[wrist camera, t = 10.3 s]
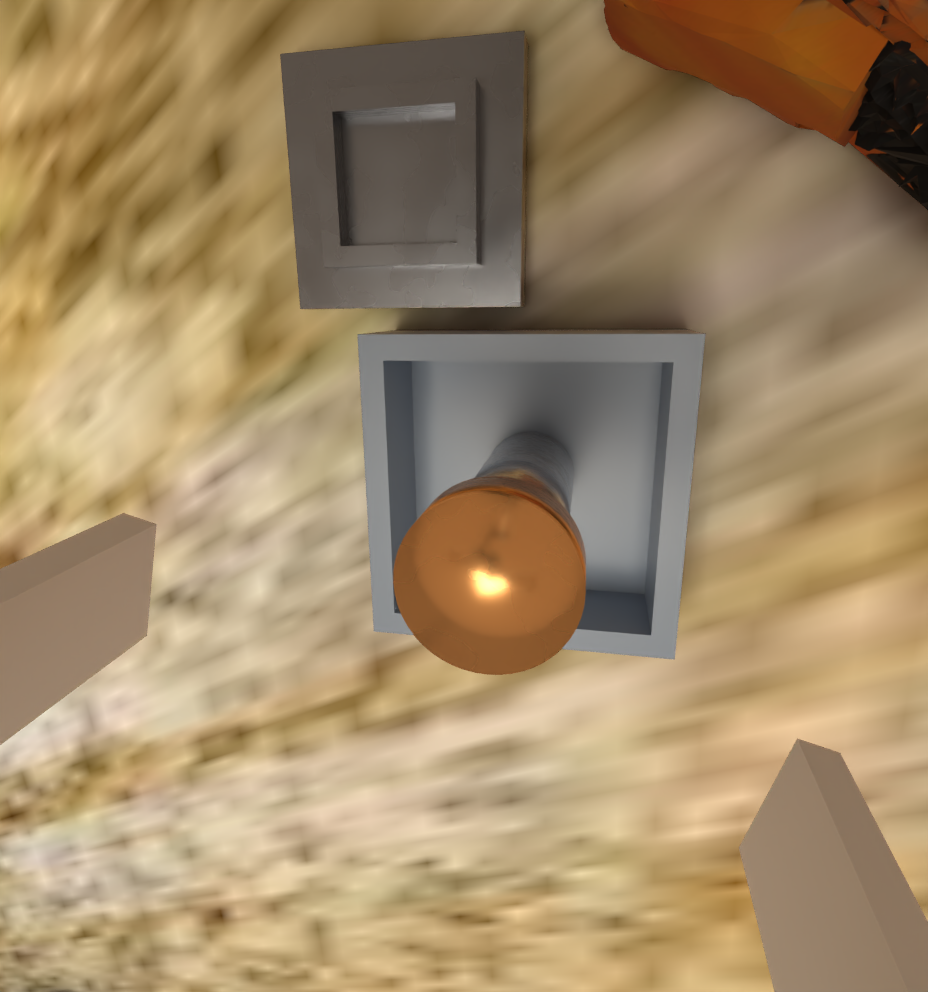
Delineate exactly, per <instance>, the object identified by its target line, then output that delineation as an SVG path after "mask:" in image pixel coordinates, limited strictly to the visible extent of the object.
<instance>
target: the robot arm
mask: <svg viewBox="0 0 928 992" xmlns="http://www.w3.org/2000/svg"><path fill="white" fill-rule="evenodd" d="M155 534H156V524H154V523H151V522H148V521H145V520H143V519H140V518H137V517H134V516H131V515H128V514H125V513H123V514H120V515H118V516H116V517H114V518H112V519H109V520H107V521H105V522H103V523H101V524H98V525H96V526H94V527H92V528H90V529H87V530H85V531H83V532H81V533H79V534H76V535H74V536H72V537H70V538H68V539H65V540H63V541H61V542H59V543H57V544H54V545H52V546H50V547H48V548H46V549H43V550H41V551H39V552H37V553H35V554H32V555H30V556H28V557H26V558H24V559H21V560H19V561H17V562H15V563H13V564H10V565H8V566H6V567H4V568H2V569H0V745H1V744H2V743H3V742H5V741H6V740H8V739H9V738H10V737H12V736H13V735H14V734H16V733H17V732H18V731H20V730H21V729H22V728H24V727H25V726H26V725H28V724H29V723H30V722H32V721H33V720H34V719H36V718H37V717H38V716H40V715H41V714H42V713H44V712H45V711H46V710H48V709H49V708H50V707H52V706H53V705H54V704H56V703H57V702H58V701H60V700H61V699H62V698H64V697H65V696H66V695H68V694H69V693H70V692H72V691H73V690H75V689H76V688H77V687H79V686H80V685H81V684H83V683H84V682H85V681H87V680H88V679H89V678H91V677H92V676H93V675H95V674H96V673H97V672H99V671H100V670H101V669H103V668H104V667H105V666H107V665H108V664H109V663H111V662H112V661H113V660H115V659H116V658H117V657H119V656H120V655H121V654H123V653H124V652H125V651H127V650H128V649H129V648H131V647H132V646H133V645H135V644H136V643H137V642H139V641H140V640H142V639H143V638H144V637H146V636H147V628H148V616H149V604H150V593H151V581H152V569H153V557H154V546H155ZM739 849H740V853H741V858H742V862H743V866H744V870H745V874H746V878H747V882H748V886H749V890H750V894H751V898H752V902H753V906H754V910H755V914H756V918H757V922H758V926H759V930H760V934H761V938H762V943H763V947H764V951H765V955H766V959H767V963H768V967H769V971H770V975H771V979H772V983H773V987H774V991H775V992H928V922H927V920H926V918H925V916H924V914H923V912H922V910H921V908H920V906H919V904H918V902H917V900H916V898H915V897H914V895H913V893H912V891H911V889H910V887H909V885H908V883H907V881H906V879H905V877H904V875H903V873H902V871H901V870H900V868H899V866H898V864H897V862H896V860H895V858H894V856H893V854H892V852H891V850H890V848H889V846H888V844H887V843H886V841H885V839H884V837H883V835H882V833H881V831H880V829H879V827H878V825H877V823H876V821H875V819H874V817H873V816H872V814H871V812H870V810H869V808H868V806H867V804H866V802H865V800H864V798H863V796H862V794H861V792H860V790H859V789H858V787H857V785H856V783H855V781H854V779H853V777H852V775H851V773H850V771H849V769H848V767H847V765H846V764H845V762H844V760H843V758H842V756H841V754H840V753H839V752H836V751H833V750H830V749H827V748H824V747H821V746H818V745H815V744H812V743H809V742H806V741H803V740H800V739H797V740H796V742H795V744H794V746H793V748H792V750H791V752H790V753H789V755H788V757H787V759H786V761H785V763H784V765H783V766H782V768H781V770H780V772H779V774H778V776H777V778H776V779H775V781H774V783H773V785H772V787H771V789H770V791H769V792H768V794H767V796H766V798H765V800H764V802H763V804H762V805H761V807H760V809H759V811H758V813H757V815H756V817H755V818H754V820H753V822H752V824H751V826H750V828H749V830H748V832H747V833H746V835H745V837H744V839H743V841H742V843H741V845H740V846H739Z"/></svg>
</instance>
